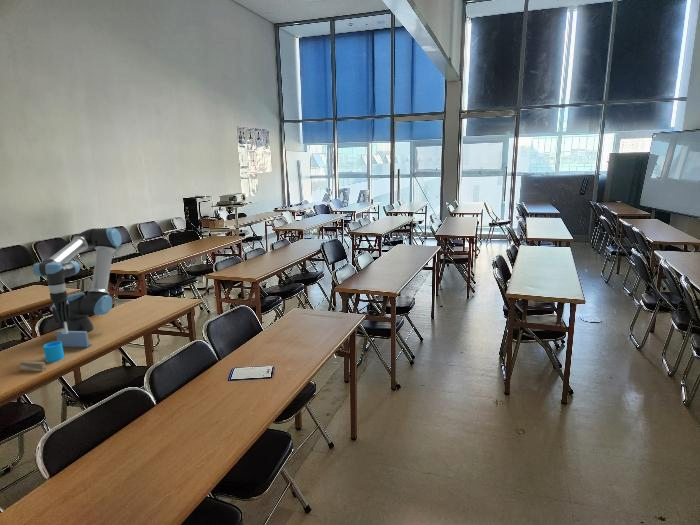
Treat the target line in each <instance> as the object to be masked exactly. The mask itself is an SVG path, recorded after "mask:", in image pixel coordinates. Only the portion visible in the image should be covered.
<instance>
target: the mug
mask: <svg viewBox="0 0 700 525" xmlns="http://www.w3.org/2000/svg"><path fill="white" fill-rule="evenodd" d="M43 351H44V357H45V362H46V363H55V362H59V361H62V360H63V359H64V358H65V353H64V347H63V346H62V342H61V341H57V340H56V341H55V340H54V341H50V342H48V343H45V344H43Z"/></svg>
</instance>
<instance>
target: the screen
mask: <svg viewBox="0 0 700 525" xmlns="http://www.w3.org/2000/svg"><path fill="white" fill-rule="evenodd" d="M55 336H56V341H61V342H62V346H63V348H81V349H83V348H85V349H87V348H89V347H91V346H93V343H90V340H89V337H88V336H89V335H88V332H87V331H68V333H67V334H62V331H61V330H56V331H55Z"/></svg>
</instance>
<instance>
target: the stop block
mask: <svg viewBox="0 0 700 525" xmlns="http://www.w3.org/2000/svg"><path fill="white" fill-rule="evenodd" d="M19 365H20V370H21V371H30V372H44V371H45V370H47V366H46V361H34V360H33V361H30V360H29V361H27V360H25V361H21V362H19Z"/></svg>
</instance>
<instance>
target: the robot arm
mask: <svg viewBox="0 0 700 525" xmlns="http://www.w3.org/2000/svg"><path fill="white" fill-rule="evenodd" d="M122 242H123V241H122V235H121V232H120V231H119V230H118V229H117V228H113V227H112V228H110V227H106V228H105V227H103V228H101V227H100V228H98V227H97V228H96V227H95V228H89V229H86V230H83V231H82V232H79V234H77V235H75V236H74V237H73V238H72V239H71V241H70V242H69V243H68V244H66V245H65V246H64V247H62V248H61V249H60V250H58V251H57V252H56V253H54V254H52V255H51V256H50V257H49V258H48V259H46V260H45V261H43V262H37V263H35V264H34V265H33V267H32V272H33V274H34V275H35V276H36V277H43V278H45V277H46V279H47V284H48V291H49V296H50V300H51V303H52V305H51V307H48V309H49V311H50V312H51V314H52V317H53V319H54V321H55V323H57V324H59V328H60V331H62V334H67V333H68V331H87V333H89V332H91V331H93V330H94V328H95V327H94V324H93V322H92V321H91V319H90V317H89V316H100V315H101V316H103V315H106V314H108V313H109V312H110V311H111V310H112V307H113V303H114V302H113V298H112V296H110V292H109V290H108V287H109V280H110V274H111V268H112V262H113V255H114V253H116V252H117V248H118V247H121V246H122ZM90 248H94V250H95V251H96V257H95V261H94V262H95V263H94V268H93V275H92V279H91V280H92V282H91V288H90V289H89V290H88V291H87V294H86V293H85V292H82V291H81V292H79V291H78V292H75V293H71V294H68V293H67V287H66V282H65V279H66V278H68V277H71V276H75V275H76V274H78V273H79V272H80V271H81V270H80V269H81V266H80V264H79V263H78V262H77V261H75V260H74V261H73V260H72V259H73V258H74V257H76V256H78V254H79V253H81V252H83V251H86V250H87V249H90ZM71 260H72V261H71Z"/></svg>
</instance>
